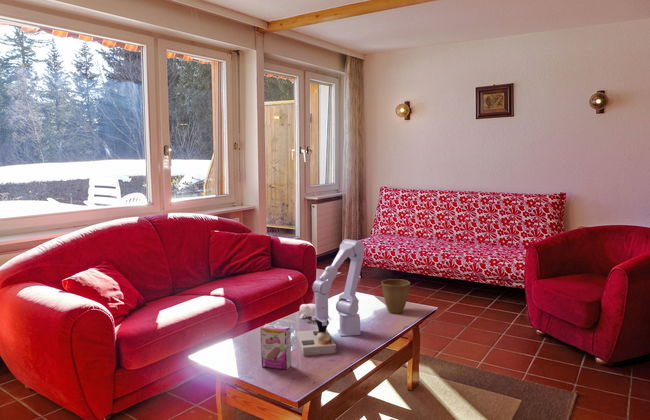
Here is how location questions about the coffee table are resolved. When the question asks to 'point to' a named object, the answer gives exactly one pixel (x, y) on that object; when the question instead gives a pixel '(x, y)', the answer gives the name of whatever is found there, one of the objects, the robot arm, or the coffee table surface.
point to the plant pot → (395, 294)
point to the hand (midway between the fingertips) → (322, 336)
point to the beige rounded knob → (323, 338)
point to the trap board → (314, 343)
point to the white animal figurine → (307, 310)
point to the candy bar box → (276, 346)
